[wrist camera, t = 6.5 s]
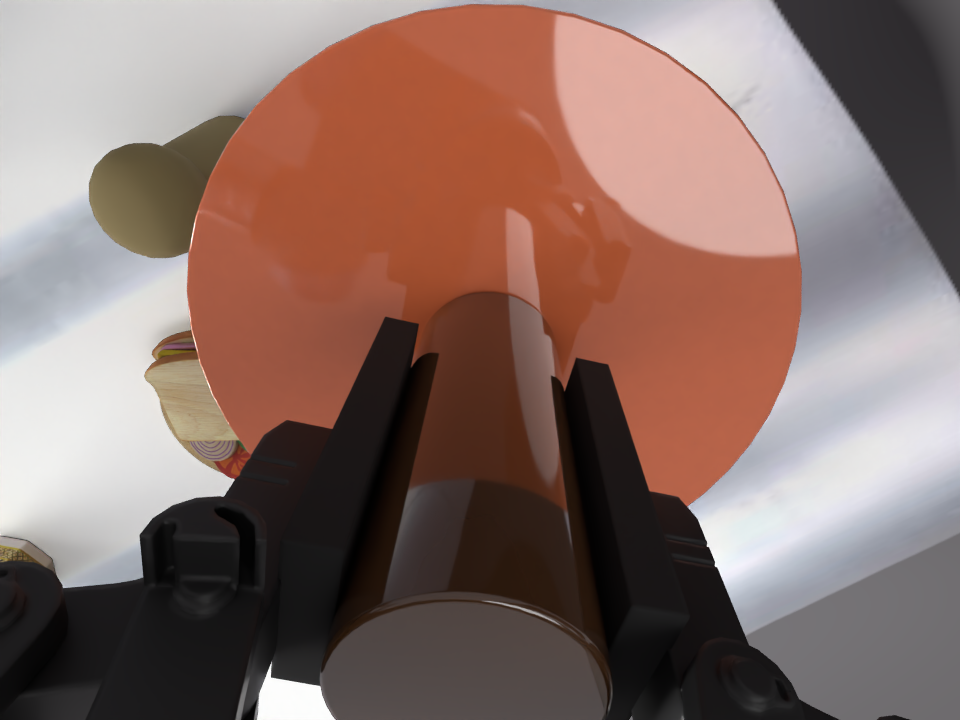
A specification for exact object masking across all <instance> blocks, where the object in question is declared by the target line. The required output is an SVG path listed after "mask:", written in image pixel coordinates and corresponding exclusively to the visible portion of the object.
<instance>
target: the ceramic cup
mask: <svg viewBox="0 0 960 720" xmlns="http://www.w3.org/2000/svg"><path fill="white" fill-rule="evenodd" d="M5 561H24V562H35V563H38V564H40V565H42V566H44V567H46V568H48V569H51V570H53V571H54V573H55V570H54V565H53V561H52V559H51V558H50V557H49V556H47V555H46V554H45V553H43V552H42V551H41V550H39V549H38V548H37V547H35V546H34V545H33V544H31V543H30V542H29V541H25V540H20V539H14V538H8V537H3V536H0V562H5ZM55 575H56V574H55Z"/></svg>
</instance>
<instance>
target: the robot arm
mask: <svg viewBox="0 0 960 720" xmlns="http://www.w3.org/2000/svg"><path fill="white" fill-rule="evenodd" d="M418 327H419V324H418V323H413V322H408V321H404V320H399V319H395V318H390V317H385V318H384V320H383V322H382V324H381V327H380V329H379V331H378V333H377V335H376V337H375V339H374V341H373V344H372V346H371V348H370V350H369V352H368V354H367V356H366V358H365V361H364V363H363V365H362V367H361V369H360V371H359V373H358V376H357V378H356V380H355V382H354V384H353V386H352V388H351V390H350V393H349V395H348V397H347V399H346V401H345V403H344V405H343V407H342V410H341V412H340V414H339V416H338V418H337V420H336V422H335V424H334V427H333V429H330V428H325V427H320V426H315V425H310V424H305V423H300V422H295V421H290V420H286V421H284V422H283V423H281V424H280V425H278V426H277V427H275V428H273V429H272V430H270V431H269V432H267V433H266V434H264V435H263V437H262V439H261V440H260V442H259V443H258V445H257V446H256V448H255V449H254V451H253V453H252V454H251V457H250V459H248V460H247V462H246V463H245V465H244V467H243V468H242V470H241V471H240V474H239V477H238V476H237V477H236V479H235V481H234V482H233V484H232V485H231V487H230V488H229V490H228V491H227V493H226V495H225V496H224V497H221V496H217V497H202V498H194V499H191V500H188V501H185V502H182V503H179V504H176V505H173V506H171V507H170V508H168V509H166V510H165V511H163V512H162V513H160V514H159V515H157V516H156V517H154V518H153V519H152V520H151V521H150V522H149V524H148V525H147V526H146V528H145V529H144V530H143V531H142V533H141V534H140V545H141V555H142V566H143V578H140V579H137V580H133V581H127V582H121V583H115V584H105V585H94V586H83V587H72V588H63V587H62V584H61V583H60V581H59V579H58V578H57V576H56V575H55V573H54V571H53V570H51V569H48V568H46V567H44V566H42V565H40V564H38V563H35V562H24V561H5V562H0V720H257V715H258V702H259V692H260V690H261V687H262V685H263V682H264V679H265V677H266V674H267V672H268V669H269V667H270V664H271V661H272V668H271V678H277V679H283V680H289V681H295V682H300V683H306V684H312V685H318V686H321V685H320V678H319V675H320V663H321V659H322V655H323V651H324V648H325V645H326V642H327V638H328V635H329V632H330V629H331V625H332V622H333V619H334V616H335V613H336V609H337V606H338V603H339V600H340V596H341V593H342V590H343V587H344V583H345V580H346V577H347V574H348V570H349V567H350V564H351V561H352V558H353V554H354V551H355V548H356V545H357V541H358V538H359V535H360V532H361V528H362V525H363V522H364V519H365V515H366V512H367V509H368V506H369V503H370V499H371V496H372V493H373V490H374V486H375V483H376V480H377V477H378V473H379V470H380V467H381V464H382V460H383V457H384V454H385V451H386V448H387V444H388V441H389V438H390V435H391V431H392V428H393V425H394V422H395V418H396V415H397V412H398V409H399V406H400V402H401V399H402V396H403V393H404V389H405V386H406V383H407V380H408V376H409V373H410V370H411V365H412V360H413V354H414V349H415V343H416V338H417V332H418ZM565 397H566V403H567V409H568V415H569V421H570V427H571V433H572V439H573V445H574V450H575V456H576V462H577V468H578V474H579V480H580V486H581V492H582V498H583V504H584V510H585V515H586V521H587V527H588V533H589V539H590V545H591V551H592V557H593V563H594V569H595V575H596V580H597V586H598V592H599V598H600V604H601V610H602V616H603V622H604V628H605V634H606V640H607V645H608V651H609V657H610V663H611V669H612V675H613V681H614V694H613V699H612V703H611V708H610V711H609V713H608V716H607V718H606V720H629V719H630V717H631V716H632V717H633V720H838V719H837V718H835V717H832V716H830V715H828V714H826V713H824V712H822V711H820V710H818V709H816V708H814V707H812V706H810V705H808V704H806V703H805V702H803V701H801V700H799V698H798V696H797V694H796V692H795V690H794V688H793V686H792V683H791V682H790V681H789V680H788V678H787V677H786V676H785V675H784V673H783V672H782V671H781V670H780V669H779V667H778V666H777V665H776V664H775V663H774V662H772V661H771V660H770V659H769V658H767V657H766V656H765V655H764V654H763V653H761V652H760V651H759V650H758V649H755V648H753V647H751V646H749V644H748V642H747V639H746V637H745V634H744V632H743V630H742V627H741V625H740V622H739V620H738V617H737V615H736V612H735V610H734V607H733V605H732V603H731V600H730V598H729V595H728V593H727V590H726V588H725V585H724V583H723V580H722V578H721V576H720V573H719V571H718V568H717V567H715V561H714V558H713V556H712V554H711V551H710V549H709V547H707V541H706V539H705V536H704V534H703V531H702V529H701V527H700V524H699V522H698V519H697V518H696V517H695V516H694V514H693V513H692V512H691V511H690V510H689V509H688V507H687V506H686V505H685V504H684V503H683V501H682V500H681V499H680V498H679V497H677V496H672V495H667V494H662V493H657V492H652V491H649V488H648V485H647V482H646V479H645V476H644V473H643V470H642V466H641V463H640V460H639V457H638V454H637V451H636V448H635V445H634V442H633V439H632V436H631V432H630V429H629V426H628V423H627V420H626V417H625V414H624V411H623V408H622V405H621V402H620V399H619V395H618V392H617V389H616V386H615V383H614V380H613V377H612V374H611V371H610V368H609V365H608V364H604V363H599V362H595V361H590V360H585V359H581V358H576V359H575V362H574V365H573V368H572V371H571V374H570V377H569V380H568V383H567V386H566V389H565ZM877 720H909V719H906V718H902V717H899V716H896V715H893V716H885V717H879V718H878V719H877Z"/></svg>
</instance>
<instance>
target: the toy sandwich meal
mask: <svg viewBox="0 0 960 720" xmlns="http://www.w3.org/2000/svg"><path fill="white" fill-rule="evenodd" d="M152 355H153V357H154V358H155V359H156V360H157V361H155V362H154V363H152V364H151V366H150V367H149V368H148V369H147V371H146V372H145V379H146V380H147V381H148V382H149V383H150V384H151V385H152V386H153V387H154V388H155V390H156V392H157V394H158V396H159V398H160V404H161V409H162V412H163V415H164V418H165V420H166V423H167V425H168V427H169V428H170V430H171V432H172V433H173V435H174V436H175V437H176V439H177V440H178V441H179V442H180V444H181V445H182V446H183V447H184V448H185V449H186V450H187V451H188V452H189V453H191V454H192V455H193V456H194V457H195V458H197V459H198V460H200V461H201V462H202V463H204V464H206V465H207V466H209V467H211V468H213V469H215V470H217V471H219V472H221V473H223V474H225V475H226V476H228V477H230V478H233V479H236V477H237V476H238V477H239V474H240V471H241V470H242V468H243V467H244V465H245V463H246V462H247V460H248V459H250V457H251V454H250V453H249V452H248V451H247V450H246V448H245V447H244V446H243V444H242V443H241V441H240V440H239V439H238V437H237V436H236V434H235V433H234V432H233V430H232V429H231V427H230V426H229V424H228V423H227V421H226V419H225V417H224V416H223V414H222V412H221V410H220V408H219V406H218V405H217V403H216V401H215V399H214V397H213V395H212V393H211V391H210V388H209V386H208V383H207V381H206V378H205V375H204V373H203V370H202V368H201V365H200V363H199V359H198V355H197V351H196V347H195V343H194V339H193V335H192V330H190V331H185V332H181V333H177V334H174V335H171V336H169V337H167V338H165V339H164V340H162V341H161V342H160V343H159V344H158V345H157V346H156V347H155V348H154V350H153V351H152Z"/></svg>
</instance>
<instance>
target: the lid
mask: <svg viewBox="0 0 960 720" xmlns="http://www.w3.org/2000/svg"><path fill="white" fill-rule="evenodd" d="M801 285H802V271H801V263H800V256H799V249H798V242H797V235H796V230H795V227H794V223H793V220H792V217H791V214H790V210H789V207H788V204H787V200H786V197H785V194H784V191H783V189H782V187H781V185H780V183H779V181H778V179H777V177H776V175H775V173H774V171H773V169H772V167H771V164H770V162H769V160H768V158H767V156H766V154H765V152H764V151H763V150H762V148H761V147H760V145H759V144H758V142H757V141H756V140H755V138H754V137H753V135H752V134H751V132H750V131H749V130H748V128H747V127H746V125H745V124H744V123H743V121H742V120H741V118H740V117H739V116H738V115H737V113H736V112H735V111H734V110H733V109H732V108H731V107H730V106H729V105H728V104H727V103H726V102H725V101H724V100H723V99H722V98H721V97H720V96H719V95H718V94H717V93H716V92H715V91H714V90H713V89H712V88H711V87H710V86H709V85H708V84H707V83H706V82H705V81H704V80H702V79H701V78H700V77H698V76H697V75H696V74H694V73H693V72H692V71H690V70H689V69H688V68H686V67H685V66H684V65H682V64H681V63H679V62H678V61H677V60H675V59H674V58H673V57H671V56H670V55H669V54H667V53H666V52H664V51H662V50H660V49H658V48H656V47H654V46H652V45H650V44H648V43H647V42H645V41H643V40H641V39H639V38H637V37H635V36H633V35H631V34H629V33H627V32H626V31H624V30H621V29H618V28H615V27H612V26H609V25H607V24H604V23H601V22H598V21H595V20H592V19H589V18H586V17H583V16H580V15H577V14H574V13H568V12H562V11H557V10H551V9H545V8H539V7H533V6H528V5H510V4H467V5H459V6H452V7H445V8H437V9H430V10H423V11H418V12H415V13H412V14H408V15H405V16H402V17H398V18H395V19H392V20H388V21H385V22H382V23H378V24H375V25H372V26H370V27H368V28H366V29H364V30H362V31H359V32H357V33H355V34H353V35H351V36H349V37H347V38H345V39H343V40H341V41H339V42H336V43H334V44H332V45H330V46H328V47H327V48H325V49H324V50H322V51H321V52H319V53H318V54H317V55H315V56H314V57H312V58H311V59H309V60H308V61H306V62H305V63H303V64H302V65H301V66H299V67H298V68H296V69H295V70H293V71H292V72H290V73H289V74H288V75H287V76H286V77H285V78H284V79H283V80H282V81H281V82H280V83H279V84H277V85H276V86H275V87H274V88H273V89H272V90H271V91H270V92H269V93H268V94H267V95H266V96H265V97H264V98H263V99H262V100H261V101H260V102H259V103H257V104H256V106H255V107H254V108H253V110H252V111H251V112H250V113H249V115H248V116H247V117H246V119H245V120H244V121H243V123H242V124H241V125H240V127H239V128H238V129H237V130H236V132H235V133H234V134H233V136H232V137H231V138H230V140H229V141H228V143H227V145H226V147H225V149H224V151H223V153H222V154H221V156H220V158H219V160H218V162H217V164H216V165H215V167H214V169H213V171H212V173H211V175H210V177H209V179H208V182H207V185H206V188H205V191H204V193H203V196H202V199H201V202H200V205H199V207H198V210H197V213H196V217H195V222H194V228H193V233H192V238H191V243H190V248H189V255H188V279H187V296H188V306H189V315H190V325H191V330H192V335H193V339H194V343H195V347H196V351H197V355H198V359H199V363H200V365H201V368H202V370H203V373H204V375H205V378H206V381H207V383H208V386H209V388H210V391H211V393H212V395H213V397H214V399H215V401H216V403H217V405H218V406H219V408H220V410H221V412H222V414H223V416H224V417H225V419H226V421H227V423H228V424H229V426H230V427H231V429H232V430H233V432H234V433H235V434H236V436H237V437H238V439H239V440H240V441H241V443H242V444H243V446H244V447H245V448H246V450H247V451H248V452H249V453H250V454H252V453H253V451H254V449H255V448H256V446H257V445H258V443H259V442H260V440H261V439H262V437H263V435H264V434H266V433H267V432H269V431H270V430H272V429H273V428H275V427H277V426H278V425H280V424H281V423H283V422H284V421H286V420H290V421H295V422H300V423H305V424H310V425H315V426H320V427H325V428H330V429H333V427H334V424H335V422H336V420H337V418H338V416H339V414H340V412H341V410H342V407H343V405H344V403H345V401H346V399H347V397H348V395H349V393H350V390H351V388H352V386H353V384H354V382H355V380H356V378H357V376H358V373H359V371H360V369H361V367H362V365H363V363H364V361H365V358H366V356H367V354H368V352H369V350H370V348H371V346H372V344H373V341H374V339H375V337H376V335H377V333H378V331H379V329H380V327H381V324H382V322H383V320H384V318H385V317H390V318H395V319H399V320H404V321H408V322H413V323H418V324H419V327H418V332H417V338H416V343H415V349H414V354H413V360H412V365H411V370H410V373H409V376H408V380H407V383H406V386H405V389H404V393H403V396H402V399H401V402H400V406H399V409H398V412H397V415H396V418H395V422H394V425H393V428H392V431H391V435H390V438H389V441H388V444H387V448H386V451H385V454H384V457H383V460H382V464H381V467H380V470H379V473H378V477H377V480H376V483H375V486H374V490H373V493H372V496H371V499H370V503H369V506H368V509H367V512H366V515H365V519H364V522H363V525H362V528H361V532H360V535H359V538H358V541H357V545H356V548H355V551H354V554H353V558H352V561H351V564H350V567H349V570H348V574H347V577H346V580H345V583H344V587H343V590H342V593H341V596H340V600H339V603H338V606H337V609H336V613H335V616H334V619H333V622H332V625H331V629H330V632H329V635H328V638H327V642H326V645H325V648H324V651H323V655H322V659H321V663H320V675H319V678H320V685H321V691H322V696H323V698H324V701H325V703H326V706H327V707H328V709H329V711H330V712H331V714H332V716H333V717H334V718H335V719H336V720H606V718H607V716H608V713H609V711H610V708H611V703H612V699H613V694H614V681H613V675H612V669H611V663H610V657H609V651H608V645H607V640H606V634H605V628H604V622H603V616H602V610H601V604H600V598H599V592H598V586H597V580H596V575H595V569H594V563H593V557H592V551H591V545H590V539H589V533H588V527H587V521H586V515H585V510H584V504H583V498H582V492H581V486H580V480H579V474H578V468H577V462H576V456H575V450H574V445H573V439H572V433H571V427H570V421H569V415H568V409H567V403H566V397H565V389H566V386H567V383H568V380H569V377H570V374H571V371H572V368H573V365H574V362H575V359H576V358H581V359H585V360H590V361H595V362H599V363H604V364H608V365H609V368H610V371H611V374H612V377H613V380H614V383H615V386H616V389H617V392H618V395H619V399H620V402H621V405H622V408H623V411H624V414H625V417H626V420H627V423H628V426H629V429H630V432H631V436H632V439H633V442H634V445H635V448H636V451H637V454H638V457H639V460H640V463H641V466H642V470H643V473H644V476H645V479H646V482H647V485H648V488H649V491H652V492H657V493H662V494H667V495H672V496H677V497H679V498H680V499H681V500H682V501H683V503H684V504H685V505H686V506H688V505H690V504H691V503H692V502H694V501H695V500H696V499H698V498H699V497H700V496H702V495H703V494H704V493H705V492H706V491H707V490H708V489H710V488H711V487H712V486H713V485H714V484H715V483H716V482H717V481H718V480H719V479H720V478H721V477H722V476H723V475H724V474H725V473H726V472H727V471H729V469H730V468H731V467H732V466H733V465H734V463H735V462H736V461H737V460H738V459H739V457H740V456H741V455H742V454H743V453H744V451H745V450H746V449H747V448H748V447H749V445H750V444H751V443H752V441H753V439H754V438H755V436H756V435H757V433H758V432H759V430H760V429H761V427H762V425H763V424H764V422H765V421H766V419H767V418H768V416H769V414H770V412H771V410H772V408H773V406H774V404H775V402H776V399H777V397H778V395H779V393H780V391H781V389H782V387H783V385H784V382H785V379H786V376H787V373H788V369H789V366H790V363H791V360H792V357H793V353H794V350H795V346H796V340H797V334H798V328H799V321H800V315H801Z"/></svg>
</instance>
